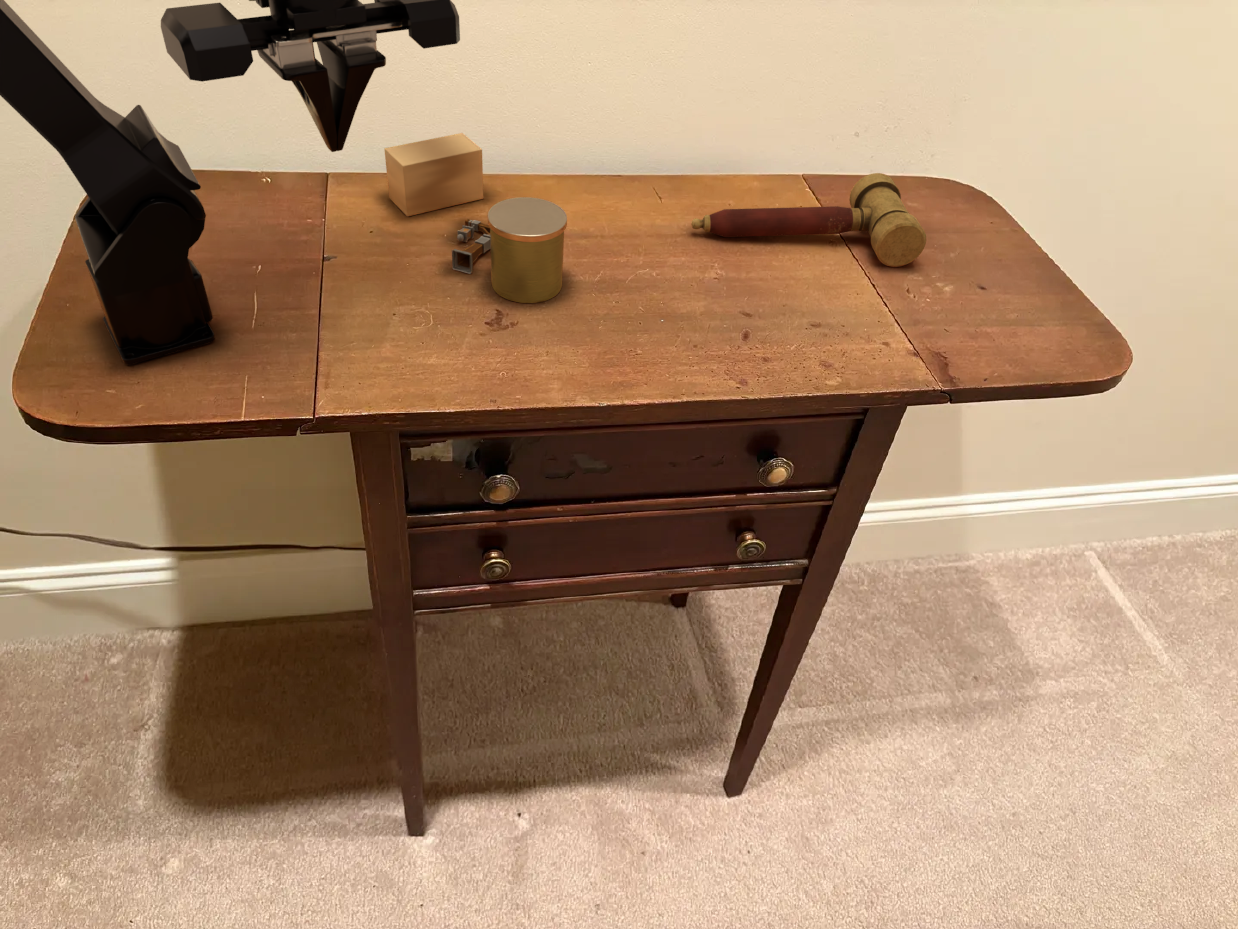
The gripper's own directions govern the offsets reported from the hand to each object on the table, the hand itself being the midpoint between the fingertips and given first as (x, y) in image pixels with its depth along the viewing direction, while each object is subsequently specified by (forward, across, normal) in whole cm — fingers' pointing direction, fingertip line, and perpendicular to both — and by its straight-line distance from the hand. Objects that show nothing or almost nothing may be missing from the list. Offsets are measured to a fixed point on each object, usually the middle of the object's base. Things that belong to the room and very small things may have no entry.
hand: (334, 149), depth 68 cm
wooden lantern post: (+11, -10, -2) cm, 15 cm away
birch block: (+12, -13, -11) cm, 21 cm away
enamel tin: (+12, -13, +6) cm, 19 cm away
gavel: (+12, -40, +11) cm, 43 cm away
